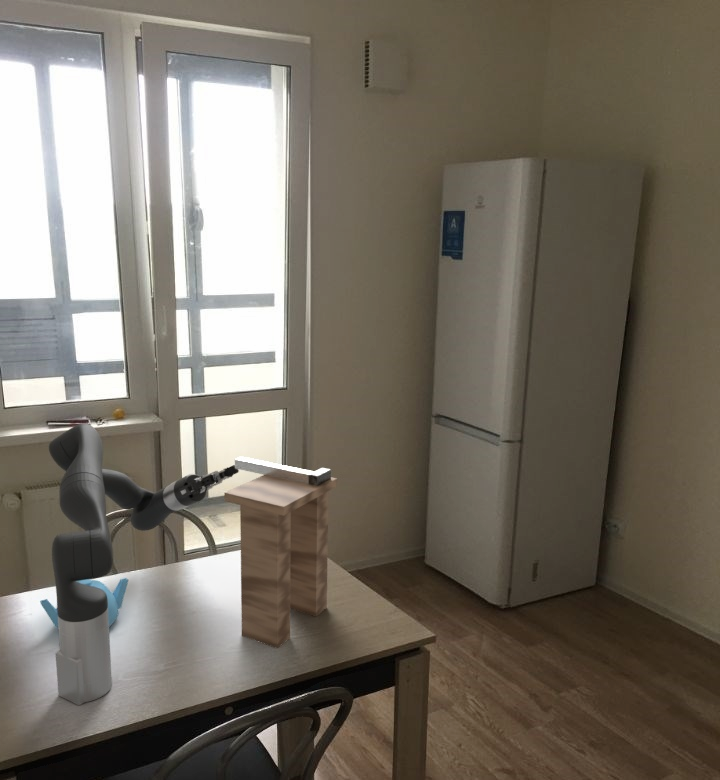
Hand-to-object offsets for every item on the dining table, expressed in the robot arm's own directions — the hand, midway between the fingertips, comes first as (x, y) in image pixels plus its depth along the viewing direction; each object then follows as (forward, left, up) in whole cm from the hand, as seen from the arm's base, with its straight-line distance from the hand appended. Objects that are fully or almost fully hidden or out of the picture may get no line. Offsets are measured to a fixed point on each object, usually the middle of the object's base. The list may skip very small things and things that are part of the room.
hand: (225, 472), depth 177 cm
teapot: (-30, +17, -32) cm, 47 cm away
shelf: (-5, -21, -32) cm, 38 cm away
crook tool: (+2, -16, +2) cm, 16 cm away
